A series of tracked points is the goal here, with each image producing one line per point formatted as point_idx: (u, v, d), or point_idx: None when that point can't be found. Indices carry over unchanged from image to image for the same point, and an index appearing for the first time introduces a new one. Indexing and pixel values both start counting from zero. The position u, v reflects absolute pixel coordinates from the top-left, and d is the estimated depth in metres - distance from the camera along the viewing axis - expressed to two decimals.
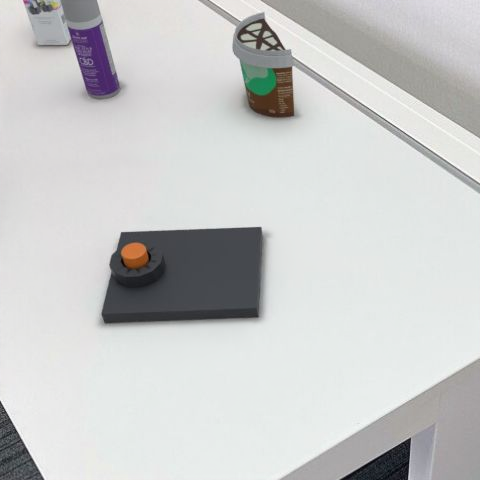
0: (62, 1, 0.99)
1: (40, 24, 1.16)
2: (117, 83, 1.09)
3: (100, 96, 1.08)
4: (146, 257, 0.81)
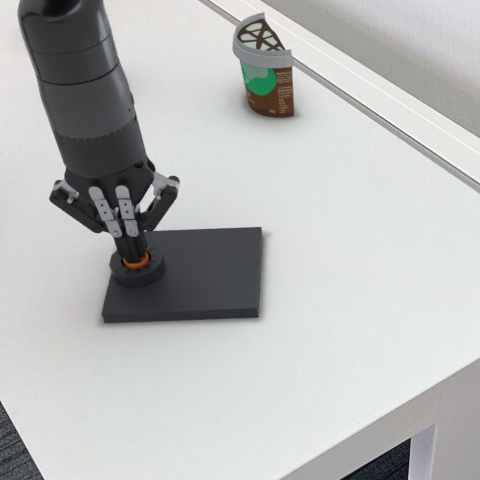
0: None
1: None
2: None
3: None
4: None
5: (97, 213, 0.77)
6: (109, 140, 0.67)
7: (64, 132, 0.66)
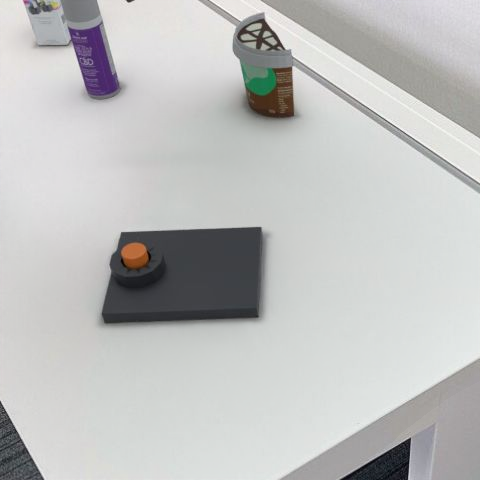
0: (62, 1, 0.99)
1: (40, 24, 1.16)
2: (117, 83, 1.09)
3: (100, 96, 1.08)
4: (146, 257, 0.81)
5: None
6: None
7: None
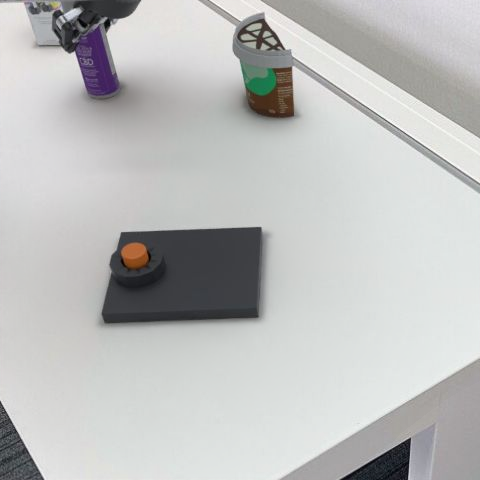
0: (62, 1, 0.99)
1: (40, 24, 1.16)
2: (117, 83, 1.09)
3: (100, 96, 1.08)
4: (146, 257, 0.81)
5: None
6: None
7: (126, 0, 0.91)
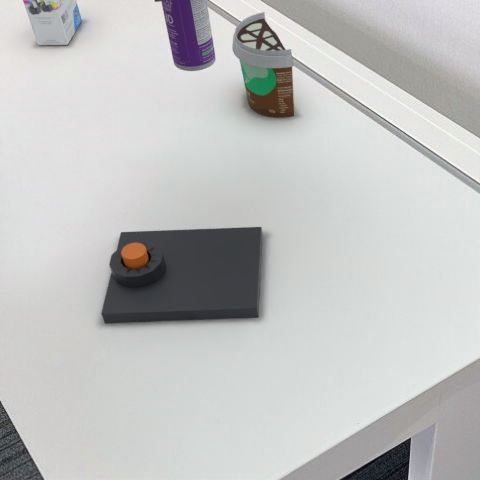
0: None
1: (40, 24, 1.16)
2: (205, 57, 0.83)
3: (180, 65, 0.84)
4: (146, 257, 0.81)
5: None
6: None
7: None
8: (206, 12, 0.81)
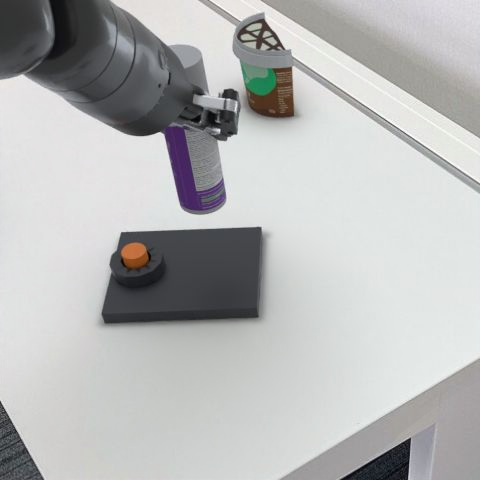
0: None
1: None
2: (206, 204, 0.74)
3: (181, 204, 0.75)
4: (146, 257, 0.81)
5: None
6: (141, 121, 0.56)
7: None
8: (211, 160, 0.71)
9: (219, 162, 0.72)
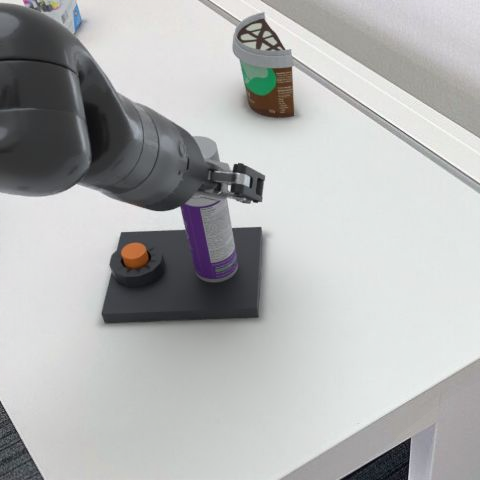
0: None
1: None
2: (219, 273, 0.80)
3: (196, 272, 0.82)
4: (146, 257, 0.81)
5: None
6: (162, 202, 0.62)
7: None
8: (224, 236, 0.78)
9: (231, 236, 0.79)
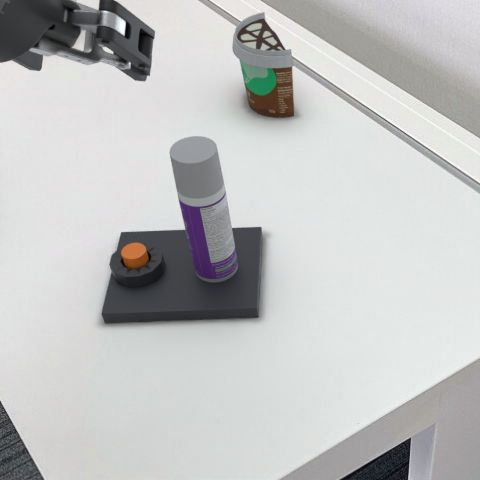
0: None
1: None
2: (219, 273, 0.80)
3: (196, 272, 0.82)
4: (146, 257, 0.81)
5: None
6: None
7: None
8: (224, 236, 0.78)
9: (231, 236, 0.79)
